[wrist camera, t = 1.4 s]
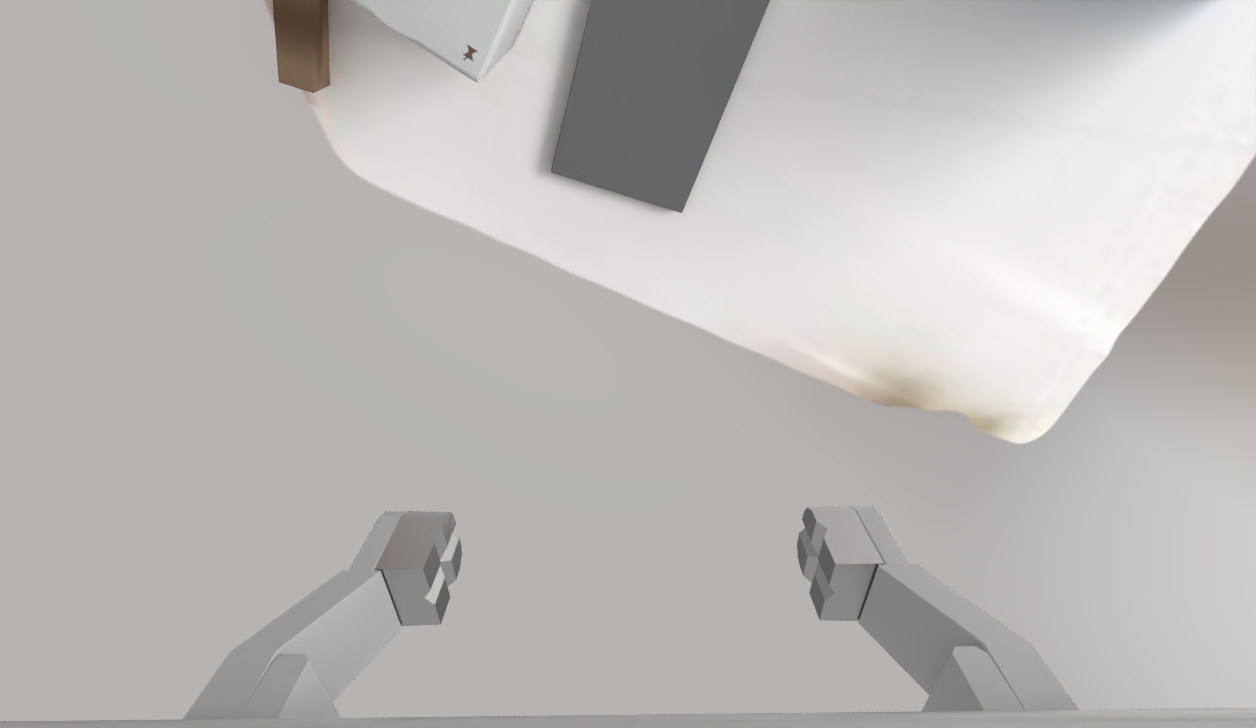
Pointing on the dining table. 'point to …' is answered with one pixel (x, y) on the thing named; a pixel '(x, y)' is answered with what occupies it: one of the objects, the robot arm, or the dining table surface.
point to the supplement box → (456, 28)
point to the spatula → (302, 43)
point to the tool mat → (652, 93)
